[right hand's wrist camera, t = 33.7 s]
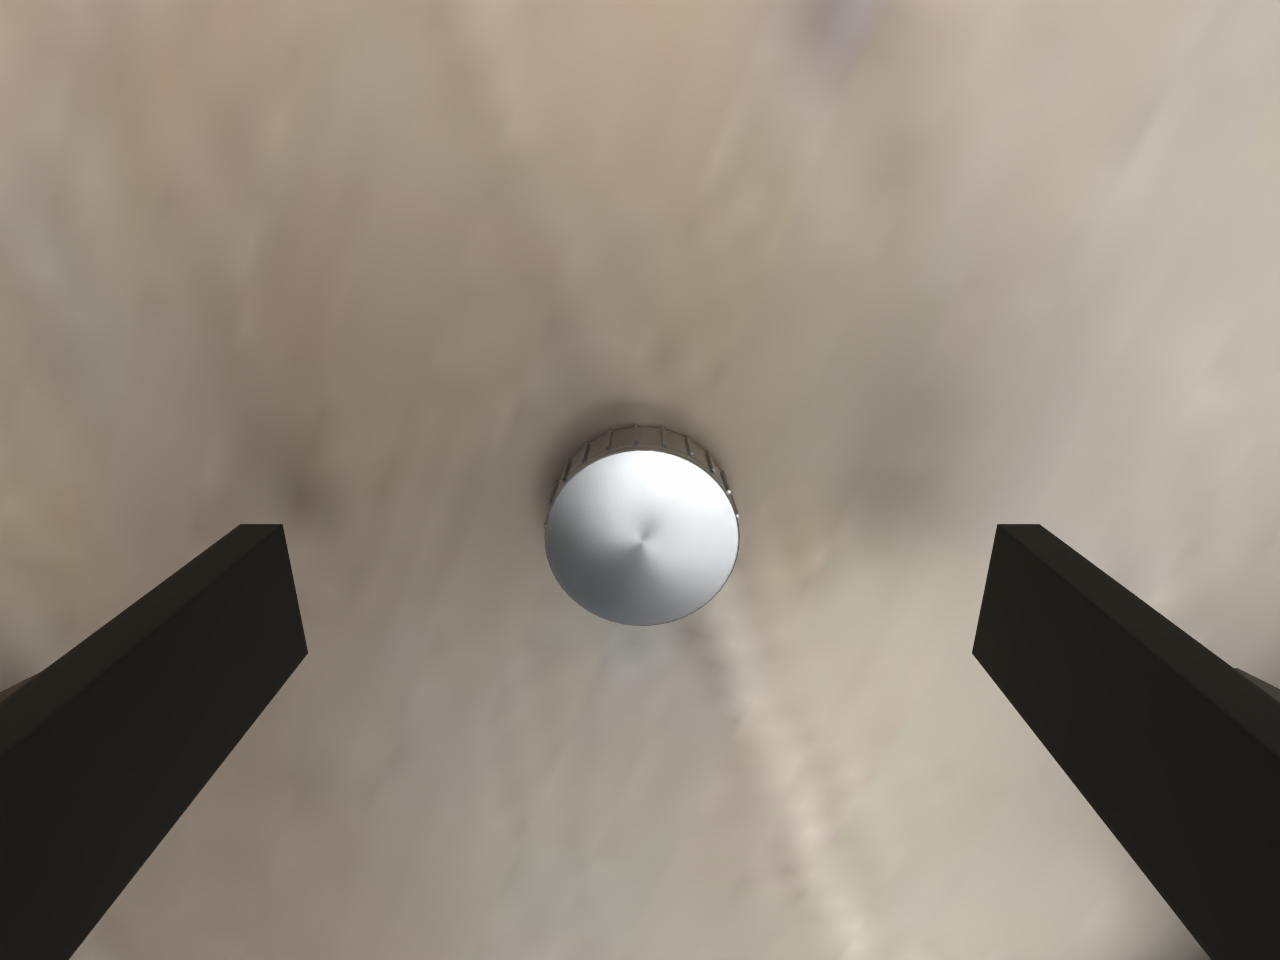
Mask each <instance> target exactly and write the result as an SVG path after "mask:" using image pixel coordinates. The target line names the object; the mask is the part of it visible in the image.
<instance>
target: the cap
mask: <svg viewBox="0 0 1280 960" xmlns="http://www.w3.org/2000/svg"><path fill="white" fill-rule="evenodd" d="M730 493H731V490H730V487H729V484H728V481H727V479H726V476H725V473H724V471H720V469H719V468H718V466H717V465H716V463H715V462H714V461H713V459H712V457H711V454H710V452H709V451H707V452H705V451H704V450H703V449H702V448H701V447H700V446H698V445H697V444H696V443H694V442H693V441H691V440H690V437H689V436H687V435H686V437H684V436H682V435H679V434H677V433H675V432H672V431H668V430H665V427H662V426H661V428H654V427H638V424H637V425H634V427H630V428H624V429H619V430H615V431H612V429H611V430H608V433H607V434H604V435H602V436H600V437H598V438H596V439H595V440H593V441H591V442H590V443H589V442H588V441H587V442H586V443H585V445H584V447H583V448H582V449H581V450H580V451H579V452H578V453H577V454H576V455H575V456H574V457H573V458H572V459H571V460H570V459H568V460H567V462H566V465H565V468H564V471H563V473H562V475H561V477H560V480H559V481H558V480H556V482H555V485H554V488H553V491H552V494H551V497H550V500H549V503H550V504H551V506H550V509H549V512H548V515H547V518H546V521H545V524H544V528H545V548H546V554H547V558H548V561H549V564H550V567H551V570H552V572H553V574H554V576H555V578H556V579H557V581H558V582H559V584H560V585H561V587H562V588H563V589H564V590H565V592H566V593H567V594H568V595H569V596H570V597H571V598H572V599H573V600H574V601H575V602H577V603H578V604H579V605H580V606H582V607H583V608H585V609H586V610H588V611H589V612H591V613H593V614H595V615H597V616H599V617H601V618H604V619H607V620H609V621H612V622H616V623H621V624H627V625H634V626H649V625H659V624H663V623H668V622H672V621H675V620H678V619H681V618H683V617H685V616H687V615H689V614H691V613H693V612H695V611H696V610H698V609H700V608H701V607H703V606H704V605H705V604H706V603H708V602H709V601H710V600H711V599H712V598H713V597H714V596H715V595H716V594H717V593H718V592H719V591H720V590H721V588H722V587H723V585H724V584H725V583H726V581H727V580H728V578H729V576H730V574H731V572H732V570H733V567H734V565H735V562H736V559H737V554H738V550H739V538H740V536H739V524H738V520H737V518H739V514H738V511H737V508H736V505H735V502H734V499H733V496H732V494H730Z"/></svg>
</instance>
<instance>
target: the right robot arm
mask: <svg viewBox="0 0 1280 960" xmlns="http://www.w3.org/2000/svg"><path fill="white" fill-rule="evenodd" d="M307 654H308V651H307V646H306V641H305V636H304V630H303V625H302V620H301V615H300V610H299V605H298V600H297V595H296V590H295V585H294V580H293V575H292V570H291V564H290V559H289V554H288V549H287V544H286V539H285V534H284V529H283V524H240V525H239V526H238V527H236V528H235V529H233V530H232V531H231V532H229V533H228V534H227V535H225V536H224V537H223V538H221V539H220V540H219V541H217V542H216V543H215V544H213V545H212V546H211V547H209V548H208V549H207V550H205V551H204V552H202V553H201V554H200V555H198V556H197V557H196V558H194V559H193V560H192V561H190V562H189V563H188V564H186V565H185V566H184V567H182V568H181V569H180V570H178V571H177V572H176V573H174V574H173V575H171V576H170V577H169V578H167V579H166V580H165V581H163V582H162V583H161V584H159V585H158V586H157V587H155V588H154V589H153V590H151V591H150V592H149V593H147V594H146V595H145V596H143V597H142V598H140V599H139V600H138V601H136V602H135V603H134V604H132V605H131V606H130V607H128V608H127V609H126V610H124V611H123V612H122V613H120V614H119V615H118V616H116V617H115V618H114V619H112V620H111V621H109V622H108V623H107V624H105V625H104V626H103V627H101V628H100V629H99V630H97V631H96V632H95V633H93V634H92V635H91V636H89V637H88V638H87V639H85V640H84V641H83V642H81V643H80V644H78V645H77V646H76V647H74V648H73V649H72V650H70V651H69V652H68V653H66V654H65V655H64V656H62V657H61V658H60V659H58V660H57V661H56V662H54V663H53V664H52V665H50V666H49V667H48V668H46V669H45V670H43V671H42V672H40V673H38V674H36V675H34V676H32V677H30V678H28V679H26V680H24V681H22V682H20V683H18V684H16V685H14V686H12V687H10V688H8V689H6V690H4V691H2V692H0V960H69V959H70V957H71V956H72V955H73V953H74V952H75V951H76V950H77V948H78V947H79V946H80V944H81V943H82V942H83V941H84V939H85V938H86V937H87V935H88V934H89V933H90V932H91V930H92V929H93V928H94V927H95V925H96V924H97V923H98V921H99V920H100V919H101V918H102V916H103V915H104V914H105V912H106V911H107V910H108V909H109V907H110V906H111V905H112V903H113V902H114V901H115V900H116V898H117V897H118V896H119V895H120V893H121V892H122V891H123V889H124V888H125V887H126V886H127V884H128V883H129V882H130V880H131V879H132V878H133V877H134V875H135V874H136V873H137V871H138V870H139V869H140V868H141V866H142V865H143V864H144V862H145V861H146V860H147V859H148V857H149V856H150V855H151V854H152V852H153V851H154V850H155V848H156V847H157V846H158V845H159V843H160V842H161V841H162V839H163V838H164V837H165V836H166V834H167V833H168V832H169V830H170V829H171V828H172V827H173V825H174V824H175V823H176V822H177V820H178V819H179V818H180V816H181V815H182V814H183V813H184V811H185V810H186V809H187V807H188V806H189V805H190V804H191V802H192V801H193V800H194V798H195V797H196V796H197V795H198V793H199V792H200V791H201V789H202V788H203V787H204V786H205V784H206V783H207V782H208V781H209V779H210V778H211V777H212V775H213V774H214V773H215V772H216V770H217V769H218V768H219V766H220V765H221V764H222V763H223V761H224V760H225V759H226V757H227V756H228V755H229V754H230V752H231V751H232V750H233V748H234V747H235V746H236V745H237V743H238V742H239V741H240V740H241V738H242V737H243V736H244V734H245V733H246V732H247V731H248V729H249V728H250V727H251V725H252V724H253V723H254V722H255V720H256V719H257V718H258V716H259V715H260V714H261V713H262V711H263V710H264V709H265V708H266V706H267V705H268V704H269V702H270V701H271V700H272V699H273V697H274V696H275V695H276V693H277V692H278V691H279V690H280V688H281V687H282V686H283V684H284V683H285V682H286V681H287V679H288V678H289V677H290V675H291V674H292V673H293V672H294V670H295V669H296V668H297V667H298V665H299V664H300V663H301V661H302V660H303V659H304V658H305V656H306V655H307ZM972 654H973V655H974V656H975V658H976V659H977V660H978V661H979V663H980V664H981V665H982V667H983V668H984V669H985V670H986V672H987V673H988V674H989V675H990V677H991V678H992V679H993V681H994V682H995V683H996V684H997V686H998V687H999V688H1000V690H1001V691H1002V692H1003V693H1004V695H1005V696H1006V697H1007V699H1008V700H1009V701H1010V702H1011V704H1012V705H1013V706H1014V708H1015V709H1016V710H1017V711H1018V713H1019V714H1020V715H1021V716H1022V718H1023V719H1024V720H1025V722H1026V723H1027V724H1028V725H1029V727H1030V728H1031V729H1032V731H1033V732H1034V733H1035V734H1036V736H1037V737H1038V738H1039V740H1040V741H1041V742H1042V743H1043V745H1044V746H1045V747H1046V748H1047V750H1048V751H1049V752H1050V754H1051V755H1052V756H1053V757H1054V759H1055V760H1056V761H1057V763H1058V764H1059V765H1060V766H1061V768H1062V769H1063V770H1064V772H1065V773H1066V774H1067V775H1068V777H1069V778H1070V779H1071V781H1072V782H1073V783H1074V784H1075V786H1076V787H1077V788H1078V789H1079V791H1080V792H1081V793H1082V795H1083V796H1084V797H1085V798H1086V800H1087V801H1088V802H1089V804H1090V805H1091V806H1092V807H1093V809H1094V810H1095V811H1096V813H1097V814H1098V815H1099V816H1100V818H1101V819H1102V820H1103V821H1104V823H1105V824H1106V825H1107V827H1108V828H1109V829H1110V830H1111V832H1112V833H1113V834H1114V836H1115V837H1116V838H1117V839H1118V841H1119V842H1120V843H1121V845H1122V846H1123V847H1124V848H1125V850H1126V851H1127V852H1128V854H1129V855H1130V856H1131V857H1132V859H1133V860H1134V861H1135V862H1136V864H1137V865H1138V866H1139V868H1140V869H1141V870H1142V871H1143V873H1144V874H1145V875H1146V877H1147V878H1148V879H1149V880H1150V882H1151V883H1152V884H1153V886H1154V887H1155V888H1156V889H1157V891H1158V892H1159V893H1160V894H1161V896H1162V897H1163V898H1164V900H1165V901H1166V902H1167V903H1168V905H1169V906H1170V907H1171V909H1172V910H1173V911H1174V912H1175V914H1176V915H1177V916H1178V918H1179V919H1180V920H1181V921H1182V923H1183V924H1184V925H1185V927H1186V928H1187V929H1188V930H1189V932H1190V933H1191V934H1192V935H1193V937H1194V938H1195V939H1196V941H1197V942H1198V943H1199V944H1200V946H1201V947H1202V948H1203V950H1204V951H1205V952H1206V953H1207V955H1208V956H1209V957H1210V959H1211V960H1280V689H1278V688H1276V687H1274V686H1272V685H1270V684H1268V683H1266V682H1264V681H1262V680H1260V679H1258V678H1256V677H1254V676H1252V675H1250V674H1248V673H1246V672H1244V671H1242V670H1240V669H1238V668H1233V667H1231V666H1230V665H1228V664H1227V663H1226V662H1224V661H1223V660H1222V659H1220V658H1219V657H1218V656H1216V655H1215V654H1214V653H1212V652H1211V651H1210V650H1208V649H1207V648H1206V647H1204V646H1203V645H1202V644H1200V643H1199V642H1197V641H1196V640H1195V639H1193V638H1192V637H1191V636H1189V635H1188V634H1187V633H1185V632H1184V631H1183V630H1181V629H1180V628H1179V627H1177V626H1176V625H1175V624H1173V623H1172V622H1171V621H1169V620H1168V619H1166V618H1165V617H1164V616H1162V615H1161V614H1160V613H1158V612H1157V611H1156V610H1154V609H1153V608H1152V607H1150V606H1149V605H1148V604H1146V603H1145V602H1144V601H1142V600H1141V599H1140V598H1138V597H1137V596H1135V595H1134V594H1133V593H1131V592H1130V591H1129V590H1127V589H1126V588H1125V587H1123V586H1122V585H1121V584H1119V583H1118V582H1117V581H1115V580H1114V579H1113V578H1111V577H1110V576H1109V575H1107V574H1106V573H1104V572H1103V571H1102V570H1100V569H1099V568H1098V567H1096V566H1095V565H1094V564H1092V563H1091V562H1090V561H1088V560H1087V559H1086V558H1084V557H1083V556H1082V555H1080V554H1079V553H1078V552H1076V551H1075V550H1073V549H1072V548H1071V547H1069V546H1068V545H1067V544H1065V543H1064V542H1063V541H1061V540H1060V539H1059V538H1057V537H1056V536H1055V535H1053V534H1052V533H1051V532H1049V531H1048V530H1047V529H1045V528H1044V527H1042V526H1041V525H1040V524H997V529H996V534H995V539H994V544H993V549H992V554H991V559H990V564H989V570H988V575H987V580H986V585H985V590H984V595H983V600H982V605H981V610H980V615H979V620H978V625H977V630H976V636H975V641H974V646H973V651H972Z"/></svg>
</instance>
